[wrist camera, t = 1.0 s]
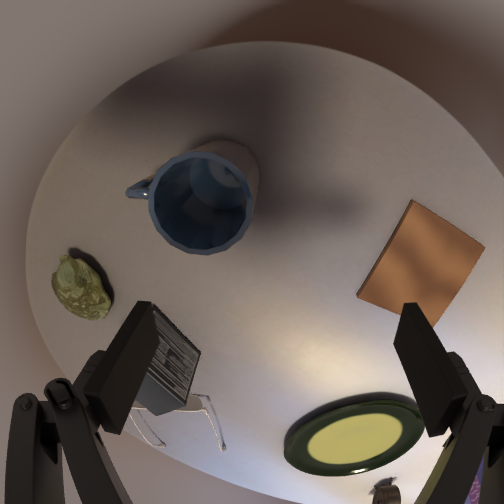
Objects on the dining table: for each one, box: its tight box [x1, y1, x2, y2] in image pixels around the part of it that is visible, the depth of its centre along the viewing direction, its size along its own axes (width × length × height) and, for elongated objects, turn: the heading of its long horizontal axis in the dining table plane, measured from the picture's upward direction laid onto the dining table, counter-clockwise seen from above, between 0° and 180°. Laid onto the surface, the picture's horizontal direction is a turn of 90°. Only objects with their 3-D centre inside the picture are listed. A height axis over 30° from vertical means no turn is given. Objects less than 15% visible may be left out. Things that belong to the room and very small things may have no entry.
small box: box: [135, 305, 201, 416], centre depth 40 cm, size 11×6×10 cm, turn 37°
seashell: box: [51, 255, 111, 320], centre depth 41 cm, size 10×7×10 cm
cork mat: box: [356, 200, 485, 328], centre depth 38 cm, size 14×14×1 cm
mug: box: [126, 140, 260, 255], centre depth 30 cm, size 11×8×12 cm
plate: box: [284, 400, 425, 476], centre depth 52 cm, size 28×28×2 cm
